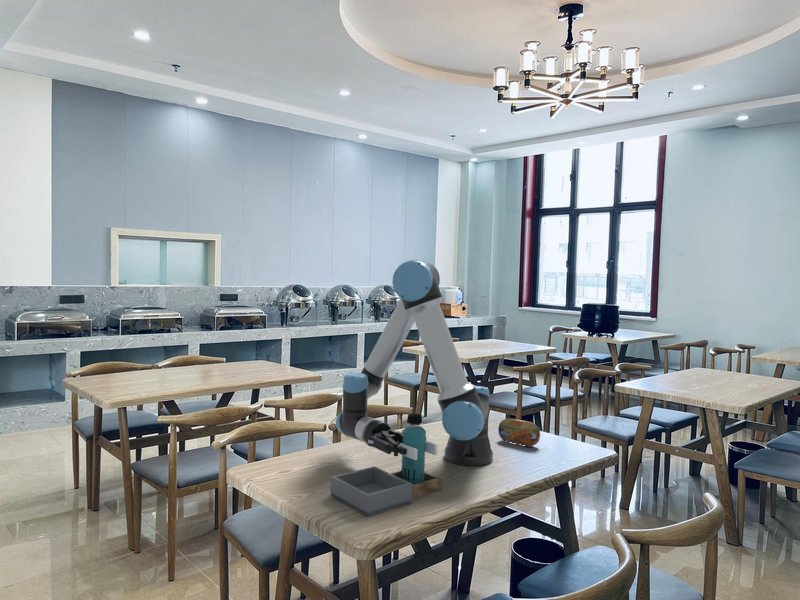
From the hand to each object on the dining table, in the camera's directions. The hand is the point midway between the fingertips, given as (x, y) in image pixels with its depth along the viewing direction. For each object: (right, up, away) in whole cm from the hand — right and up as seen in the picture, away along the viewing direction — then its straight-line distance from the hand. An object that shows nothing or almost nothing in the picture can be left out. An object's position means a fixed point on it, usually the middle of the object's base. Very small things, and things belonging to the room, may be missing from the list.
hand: (426, 452), depth 153 cm
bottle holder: (-4, -11, +4) cm, 12 cm away
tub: (-14, -11, -4) cm, 19 cm away
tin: (+34, -10, +48) cm, 60 cm away
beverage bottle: (-4, -11, +4) cm, 12 cm away
